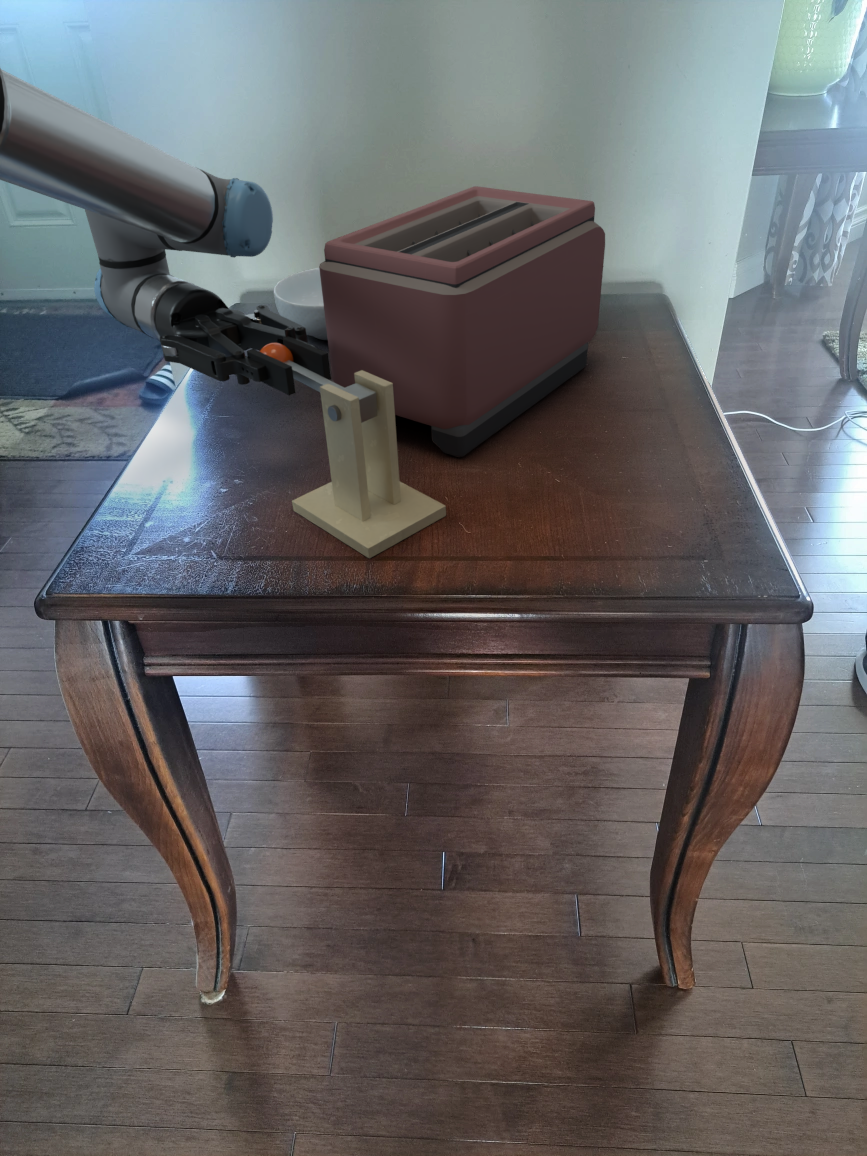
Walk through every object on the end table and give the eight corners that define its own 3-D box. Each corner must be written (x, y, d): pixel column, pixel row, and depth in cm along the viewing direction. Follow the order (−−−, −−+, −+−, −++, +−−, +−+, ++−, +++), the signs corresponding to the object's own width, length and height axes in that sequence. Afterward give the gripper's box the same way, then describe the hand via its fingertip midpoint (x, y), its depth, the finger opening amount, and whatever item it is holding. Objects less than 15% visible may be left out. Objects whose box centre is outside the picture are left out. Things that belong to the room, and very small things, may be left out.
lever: (253, 378, 84) (247, 344, 82) (282, 367, 86) (277, 333, 84) (354, 432, 75) (350, 396, 73) (384, 419, 77) (381, 383, 75)
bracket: (293, 510, 84) (272, 383, 76) (368, 473, 89) (356, 351, 81) (369, 558, 77) (355, 424, 68) (446, 515, 82) (442, 386, 74)
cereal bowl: (291, 311, 130) (284, 265, 126) (396, 309, 129) (393, 263, 125) (270, 354, 116) (261, 304, 112) (387, 352, 116) (383, 301, 111)
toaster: (611, 354, 112) (627, 191, 100) (460, 466, 90) (457, 273, 77) (491, 327, 122) (492, 175, 109) (327, 423, 99) (305, 244, 86)
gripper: (251, 329, 100) (377, 383, 86) (124, 371, 91) (242, 439, 78) (240, 265, 96) (371, 312, 82) (106, 303, 87) (227, 363, 73)
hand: (308, 373), depth 80 cm, fingers closed on lever, 4 cm apart
